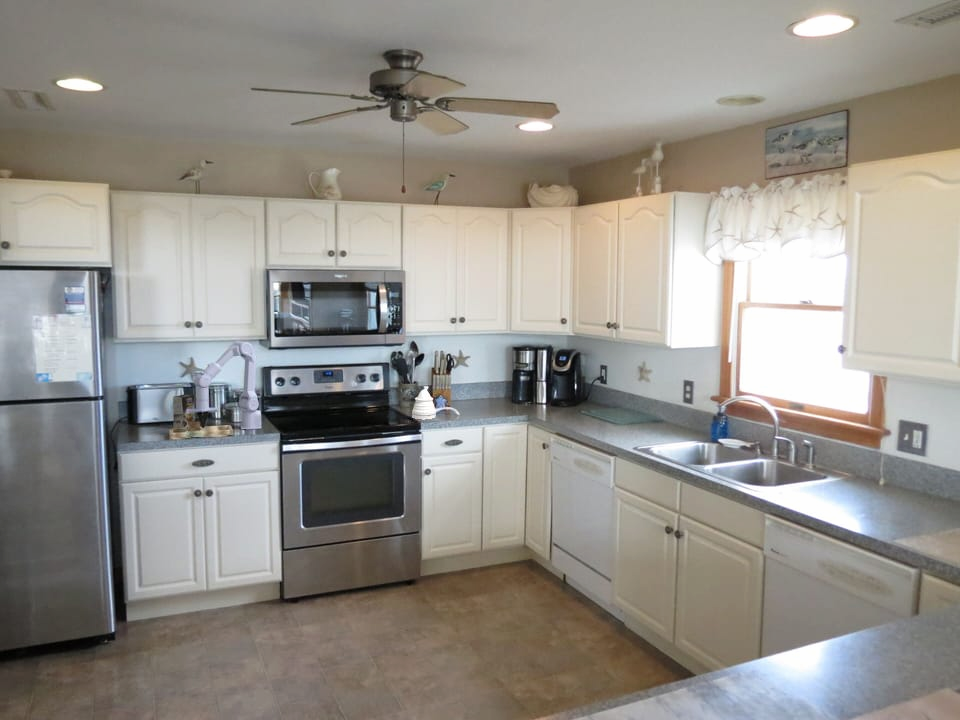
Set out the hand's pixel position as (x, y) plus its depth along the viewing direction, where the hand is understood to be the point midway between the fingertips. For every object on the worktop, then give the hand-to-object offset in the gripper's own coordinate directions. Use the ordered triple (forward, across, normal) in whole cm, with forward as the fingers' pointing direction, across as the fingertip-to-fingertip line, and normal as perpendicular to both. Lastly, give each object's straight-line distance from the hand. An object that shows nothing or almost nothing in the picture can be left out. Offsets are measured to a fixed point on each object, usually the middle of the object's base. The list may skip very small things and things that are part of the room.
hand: (203, 427), depth 354 cm
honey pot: (+4, +113, +4) cm, 113 cm away
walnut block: (+1, -4, 0) cm, 4 cm away
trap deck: (+3, -1, 0) cm, 4 cm away
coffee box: (+4, -8, +21) cm, 23 cm away
